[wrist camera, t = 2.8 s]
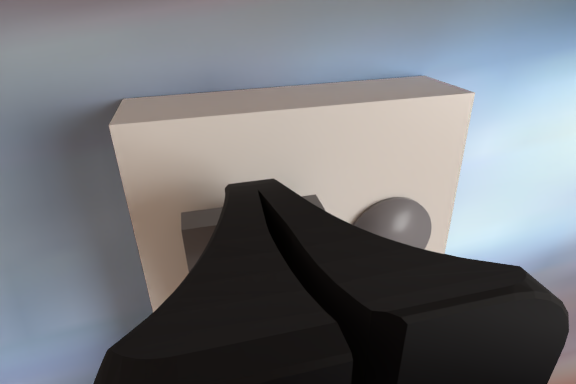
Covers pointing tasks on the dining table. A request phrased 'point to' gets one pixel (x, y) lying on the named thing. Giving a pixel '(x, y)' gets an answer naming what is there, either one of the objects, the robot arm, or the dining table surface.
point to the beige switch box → (293, 158)
